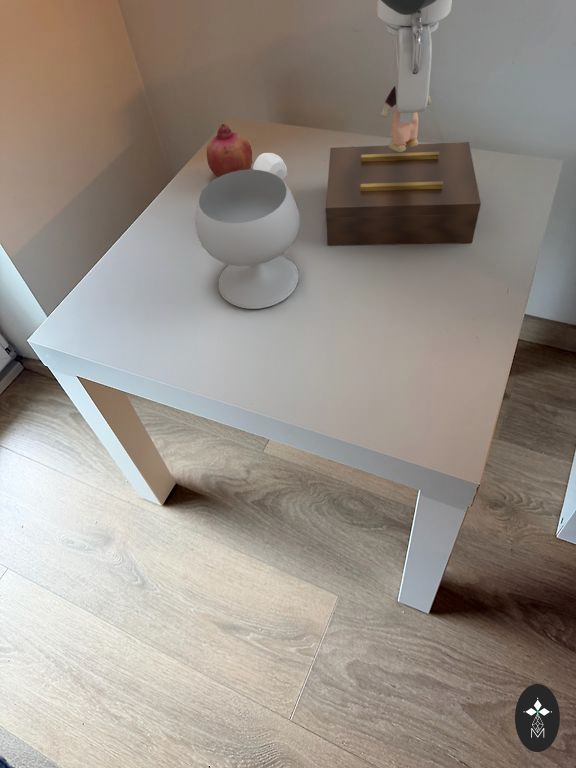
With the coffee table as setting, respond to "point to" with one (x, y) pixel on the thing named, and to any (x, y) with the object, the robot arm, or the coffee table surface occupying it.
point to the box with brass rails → (401, 195)
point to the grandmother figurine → (401, 125)
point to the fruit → (228, 152)
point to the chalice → (250, 236)
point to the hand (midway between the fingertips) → (405, 111)
